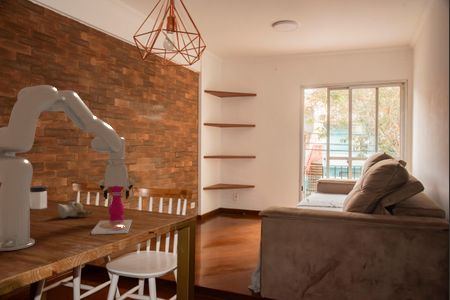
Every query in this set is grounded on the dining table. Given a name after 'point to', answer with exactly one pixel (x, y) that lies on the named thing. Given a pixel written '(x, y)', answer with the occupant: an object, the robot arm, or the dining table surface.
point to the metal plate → (112, 227)
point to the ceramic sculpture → (72, 210)
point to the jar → (38, 197)
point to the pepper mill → (116, 204)
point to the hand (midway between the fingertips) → (116, 198)
